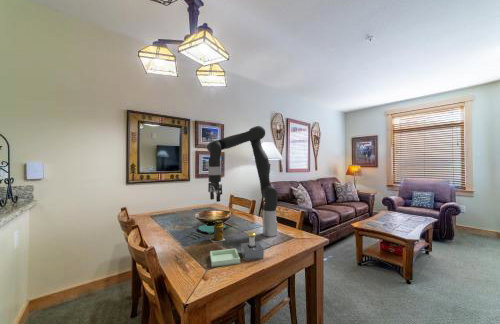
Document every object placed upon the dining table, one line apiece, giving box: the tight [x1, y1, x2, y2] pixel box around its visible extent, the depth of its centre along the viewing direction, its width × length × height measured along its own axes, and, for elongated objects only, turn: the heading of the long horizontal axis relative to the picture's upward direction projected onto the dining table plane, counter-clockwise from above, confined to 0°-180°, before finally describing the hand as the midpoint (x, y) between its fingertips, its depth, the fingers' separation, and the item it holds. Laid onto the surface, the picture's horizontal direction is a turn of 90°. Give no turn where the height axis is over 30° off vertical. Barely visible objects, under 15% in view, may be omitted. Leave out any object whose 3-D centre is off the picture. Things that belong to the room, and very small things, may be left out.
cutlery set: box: [184, 223, 226, 240], centre depth 150 cm, size 20×30×2 cm, turn 140°
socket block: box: [240, 241, 265, 262], centre depth 112 cm, size 10×10×5 cm
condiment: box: [209, 219, 226, 244], centre depth 134 cm, size 7×8×12 cm
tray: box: [209, 248, 241, 268], centre depth 107 cm, size 14×12×2 cm
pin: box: [247, 231, 257, 248], centre depth 112 cm, size 4×4×12 cm
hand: (215, 200), depth 126 cm, fingers open, 8 cm apart
